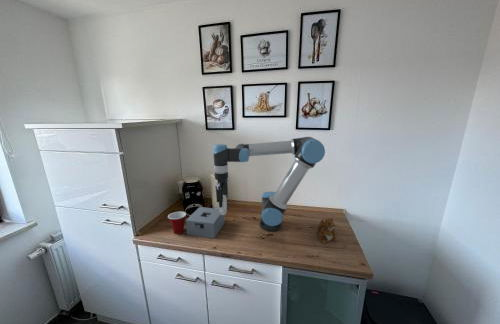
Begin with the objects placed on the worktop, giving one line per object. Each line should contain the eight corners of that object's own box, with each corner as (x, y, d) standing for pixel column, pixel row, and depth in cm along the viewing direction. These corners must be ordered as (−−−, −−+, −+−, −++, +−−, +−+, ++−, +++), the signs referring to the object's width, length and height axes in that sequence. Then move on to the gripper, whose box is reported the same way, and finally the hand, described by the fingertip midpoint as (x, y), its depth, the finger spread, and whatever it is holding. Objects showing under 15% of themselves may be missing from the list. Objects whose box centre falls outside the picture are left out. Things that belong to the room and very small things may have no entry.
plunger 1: (208, 221, 127) (208, 218, 126) (201, 229, 118) (201, 226, 118) (201, 221, 128) (201, 217, 127) (195, 228, 119) (194, 225, 119)
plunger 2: (215, 212, 138) (215, 209, 138) (210, 219, 130) (210, 215, 129) (210, 211, 139) (209, 208, 139) (204, 218, 131) (204, 215, 130)
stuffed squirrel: (323, 245, 113) (325, 224, 110) (311, 231, 126) (313, 212, 123) (339, 243, 115) (342, 222, 111) (326, 229, 128) (327, 210, 125)
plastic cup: (190, 226, 132) (188, 210, 129) (184, 236, 122) (182, 219, 119) (174, 226, 133) (172, 210, 130) (166, 236, 122) (164, 218, 120)
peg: (228, 212, 120) (227, 195, 118) (225, 215, 116) (224, 198, 114) (221, 211, 121) (220, 194, 119) (218, 214, 117) (217, 197, 115)
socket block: (224, 222, 137) (224, 209, 134) (214, 238, 120) (213, 223, 117) (200, 219, 141) (199, 206, 138) (187, 234, 124) (185, 220, 121)
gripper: (220, 167, 122) (222, 202, 127) (208, 176, 105) (211, 216, 111) (232, 168, 120) (233, 203, 126) (221, 177, 104) (223, 217, 109)
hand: (223, 209), depth 118 cm, fingers closed on peg, 4 cm apart
